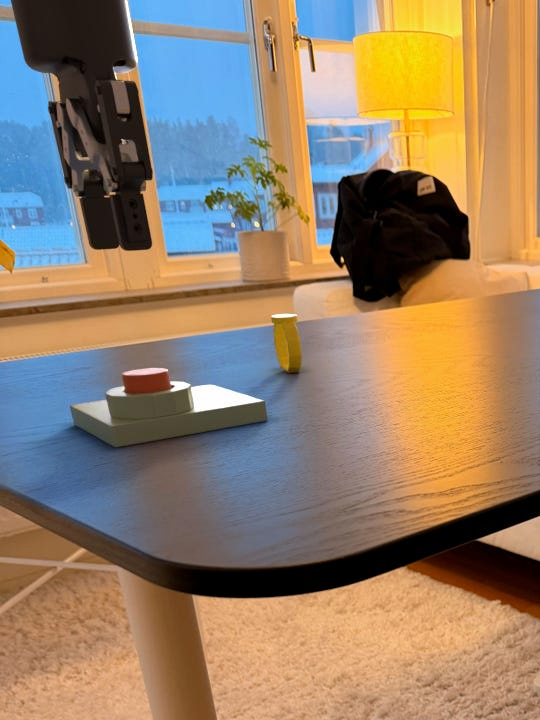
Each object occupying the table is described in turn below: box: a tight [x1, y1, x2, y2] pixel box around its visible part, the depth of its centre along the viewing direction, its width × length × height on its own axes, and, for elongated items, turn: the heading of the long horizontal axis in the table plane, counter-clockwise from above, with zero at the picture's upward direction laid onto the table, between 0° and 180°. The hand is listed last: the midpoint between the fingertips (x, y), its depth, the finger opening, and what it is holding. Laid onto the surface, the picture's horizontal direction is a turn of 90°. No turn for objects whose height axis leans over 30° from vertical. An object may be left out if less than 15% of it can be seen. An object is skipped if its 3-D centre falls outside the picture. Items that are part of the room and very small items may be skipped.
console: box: [69, 380, 268, 448], centre depth 76 cm, size 13×12×4 cm
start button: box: [121, 367, 172, 394], centre depth 72 cm, size 4×4×2 cm
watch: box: [270, 313, 303, 374], centre depth 98 cm, size 6×3×6 cm, turn 27°
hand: (120, 249), depth 68 cm, fingers open, 7 cm apart
